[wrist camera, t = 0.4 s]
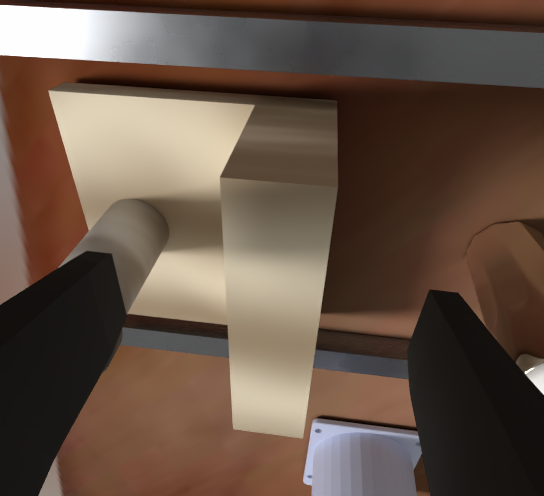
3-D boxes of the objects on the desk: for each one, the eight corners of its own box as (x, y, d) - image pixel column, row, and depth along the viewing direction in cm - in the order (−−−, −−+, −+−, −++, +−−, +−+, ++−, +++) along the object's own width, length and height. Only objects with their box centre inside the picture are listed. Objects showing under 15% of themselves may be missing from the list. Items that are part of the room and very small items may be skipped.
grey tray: (558, 375, 24) (588, 435, 21) (101, 322, 26) (72, 370, 23) (803, 38, 13) (933, 66, 10) (-3, -2, 15) (-80, 12, 13)
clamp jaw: (310, 318, 23) (300, 467, 16) (121, 297, 24) (41, 430, 17) (337, 100, 16) (338, 212, 9) (64, 82, 17) (-109, 173, 10)
